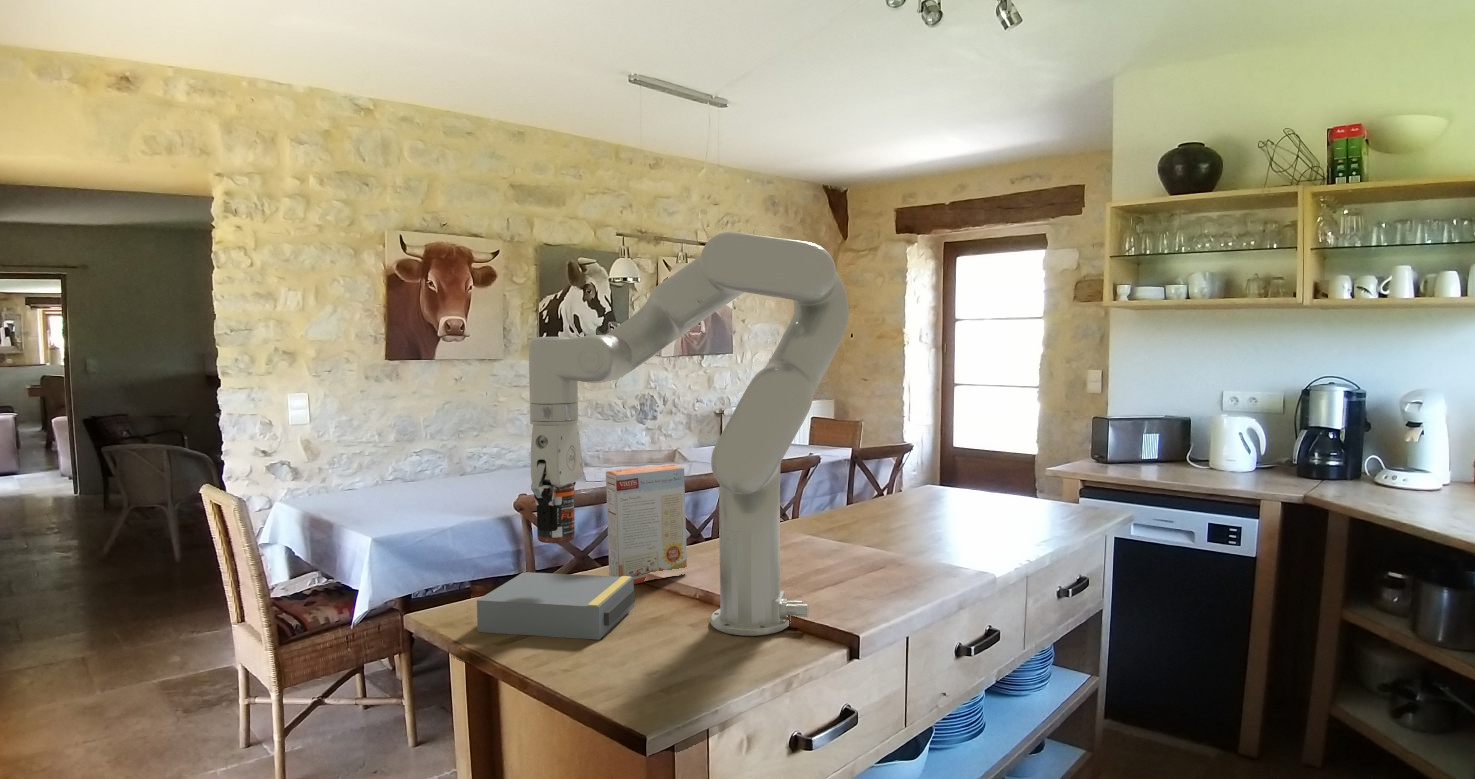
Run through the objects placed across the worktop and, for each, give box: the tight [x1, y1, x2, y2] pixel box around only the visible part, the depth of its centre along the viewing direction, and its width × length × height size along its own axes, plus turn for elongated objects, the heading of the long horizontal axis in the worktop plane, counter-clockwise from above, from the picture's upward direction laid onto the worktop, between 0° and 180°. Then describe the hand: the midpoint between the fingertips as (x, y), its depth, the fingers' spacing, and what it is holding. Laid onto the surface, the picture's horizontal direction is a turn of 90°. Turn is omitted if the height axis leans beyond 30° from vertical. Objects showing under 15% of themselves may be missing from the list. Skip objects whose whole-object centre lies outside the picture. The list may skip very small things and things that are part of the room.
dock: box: [476, 571, 636, 641], centre depth 135 cm, size 21×16×5 cm
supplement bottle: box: [536, 482, 576, 544], centre depth 134 cm, size 6×6×11 cm
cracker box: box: [605, 464, 688, 585], centre depth 158 cm, size 14×6×21 cm, turn 120°
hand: (556, 524), depth 134 cm, fingers closed on supplement bottle, 5 cm apart
